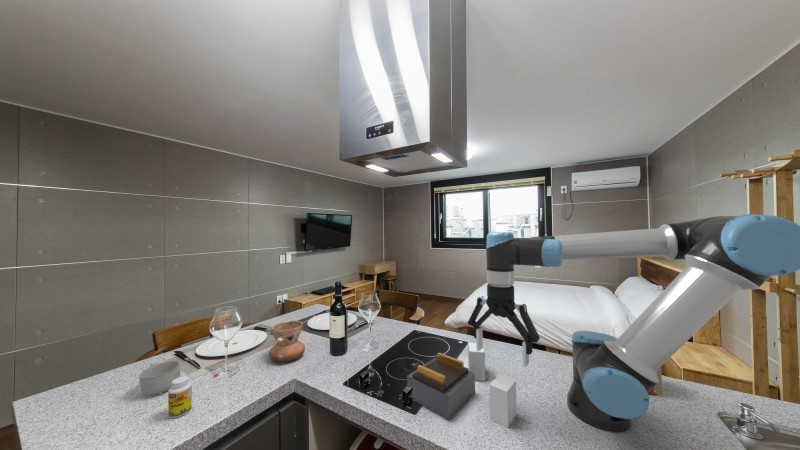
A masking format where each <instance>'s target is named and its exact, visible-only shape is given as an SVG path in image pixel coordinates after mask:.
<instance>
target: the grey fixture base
mask: <svg viewBox="0 0 800 450" xmlns="http://www.w3.org/2000/svg"><path fill="white" fill-rule="evenodd" d="M406 382H407V383H406V384H407V386H406V387H411V388H413V391H412V393H413V400H414V402H415V403H416V404H419V405H420V404H421V405H420V406H422V407H424V408H426V409H427V410H429V411H431V412H433V413H435V414H437V416H440V417H442V418H443V419H445V420H447V421H448V422H450V421H452V419H453V418H454V417H455V416H456V415H457V413H459V412H460V411H461V410H462V408H464V407H465V405H467V403H468V402H469V401H470V400H471V399H472V398H473V397H474V396H475V395H476V380H475V373H473V372H471V371H469V367H466V366H465V361H463V360H460V359H458V358H455V357H452V356H449V355H446V354H445V353H441V352H438V353H437V354H436V357H434V358H433V359H431V360H429V361H428V362H427V363H425V364H423V365H421V364H419V365H417V369H415V370H414V371H412V372H411V373H410V374H408V375H407V376H406ZM413 400H412V401H413Z"/></svg>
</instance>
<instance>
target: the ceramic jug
mask: <svg viewBox="0 0 800 450" xmlns="http://www.w3.org/2000/svg"><path fill="white" fill-rule="evenodd" d="M302 329H303V322H302V321H300V320H284V321H281V322H278V323H275V324H274V325H272V327H271V331H272V334H273V337H274V340H275V342H276V344H274V345H273V346H272V347H271V348H270V350H269V351H268V356H269V358H270V359H271V360H272V361H274V362H278V363H287V362H292V361H294V360H296V359H298V358H300V357H302V355H303V354H304V352H305V350H306V346H305V344H304V343H303V342H302V341H300V340H298V339H299V337H300V334H301V332H302Z"/></svg>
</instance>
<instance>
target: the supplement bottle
mask: <svg viewBox="0 0 800 450" xmlns="http://www.w3.org/2000/svg"><path fill="white" fill-rule="evenodd" d="M192 387H193V384H192V382H190V381H189V376H186V375H185V376H184V375H183V376H180V377H179V378H176V379H175V380H173V381H172V387H171V388H170V389H169V390H168V391H167V394H168V395H167V397H168V398H167V399H168V401H167V403H168V404H167V406H168V407H167V409H168V410H167V411H168V412H167V413H168V418H170V419H177V417H178V418H180V417H183V416H185V415H187V414H188V413H189V412H191V410H192V407H193V406H192V404H193V403H192V402H193V400H192V399H193V398H192V397H193V395H192V393H193V392H192V391H193V390H192Z"/></svg>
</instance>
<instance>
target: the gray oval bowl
mask: <svg viewBox="0 0 800 450" xmlns="http://www.w3.org/2000/svg"><path fill="white" fill-rule="evenodd" d="M179 377H181V362H180V360H175V359H174V360H173V359H172V360H167V361H162V362H159V363H157V362H154V363H151V364H150V365H149V366H148V367H147V368H145V369H144V370H142V371H141V372H140V373H138V379H139V388H140V390H141V393H143V395H145V396H147V395H148V396H152V395H154V396H157V395H156V394H159V395H161V394H160V393H162V394H164V393H163V392H165V393H166V391H167V392H168V391H169V389H170V388H171V387H172V381H173V380H175V379H176V378H179Z"/></svg>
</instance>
